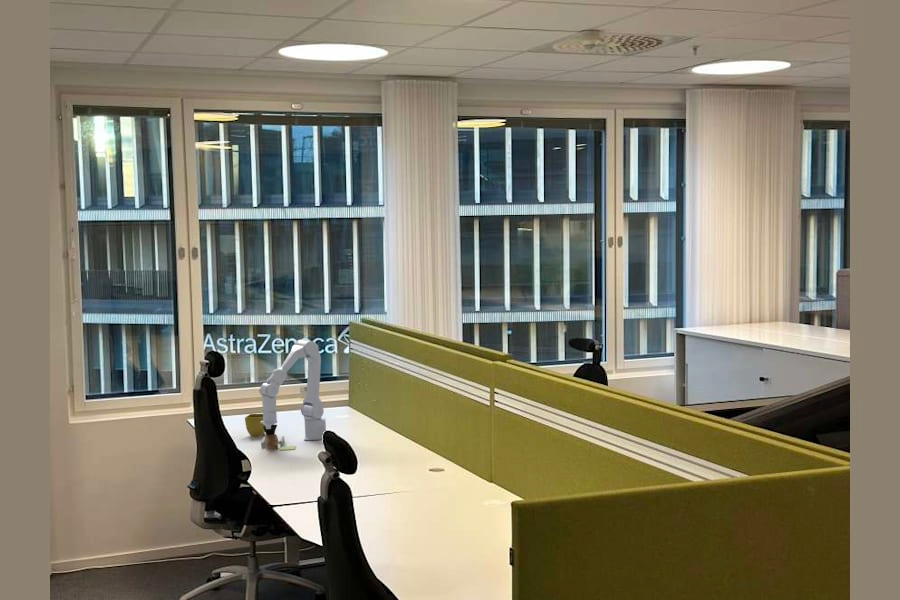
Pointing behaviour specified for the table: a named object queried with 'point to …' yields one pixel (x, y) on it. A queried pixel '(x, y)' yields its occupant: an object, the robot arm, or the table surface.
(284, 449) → the coaster
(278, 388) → the robot arm
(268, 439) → the block
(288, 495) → the table surface
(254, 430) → the flower pot
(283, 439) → the goalpost shaped bracket
